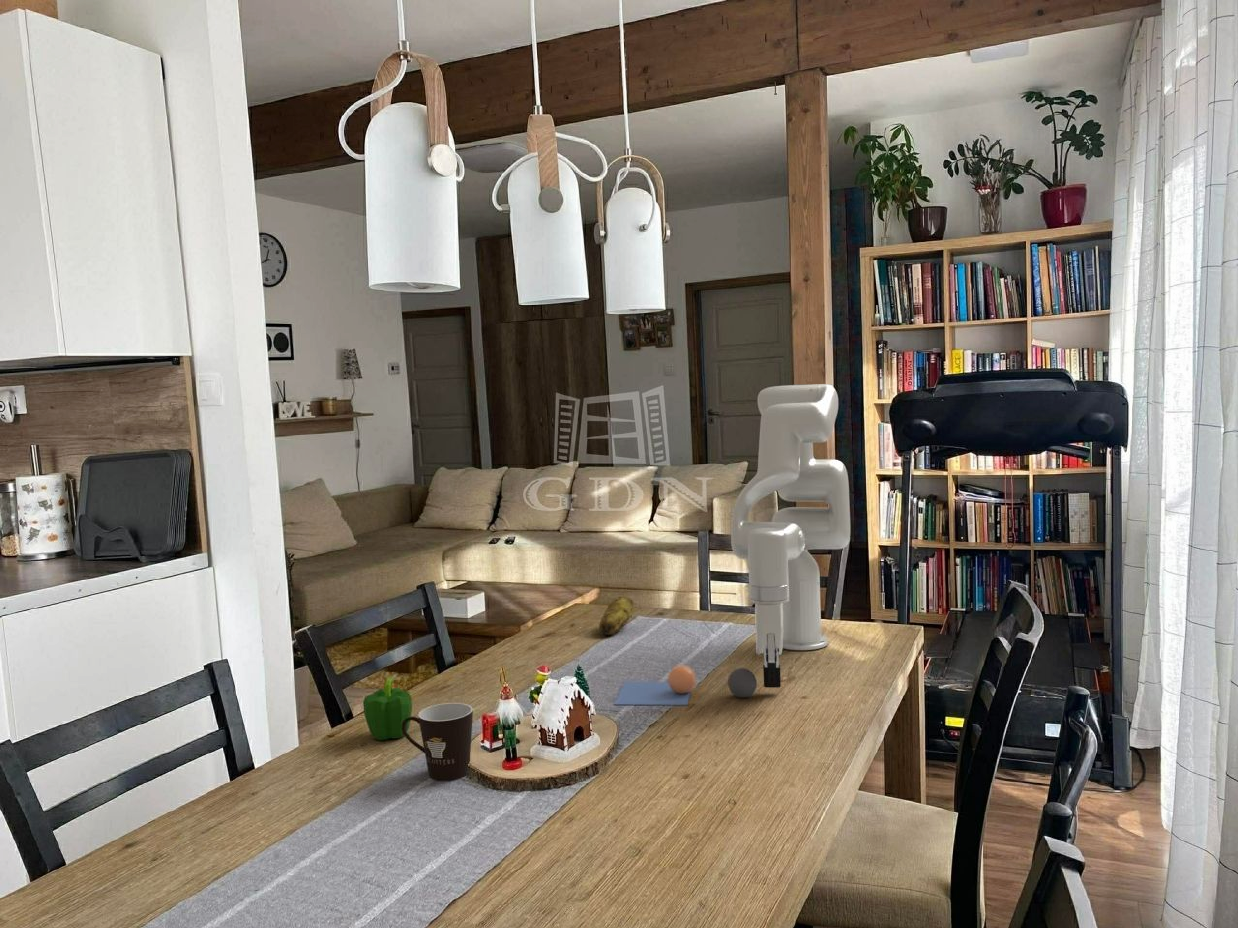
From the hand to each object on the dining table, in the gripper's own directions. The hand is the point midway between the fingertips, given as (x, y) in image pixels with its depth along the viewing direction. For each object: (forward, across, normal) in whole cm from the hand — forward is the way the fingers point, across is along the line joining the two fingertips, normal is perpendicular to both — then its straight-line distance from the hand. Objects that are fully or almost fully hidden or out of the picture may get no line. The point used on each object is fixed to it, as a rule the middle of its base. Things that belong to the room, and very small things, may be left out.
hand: (772, 685), depth 181 cm
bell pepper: (+2, +24, -68) cm, 72 cm away
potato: (+2, -49, -38) cm, 62 cm away
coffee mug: (+2, +39, -53) cm, 66 cm away
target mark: (+2, 0, -23) cm, 23 cm away
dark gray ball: (-1, +2, -6) cm, 6 cm away
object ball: (-1, 0, -18) cm, 18 cm away
